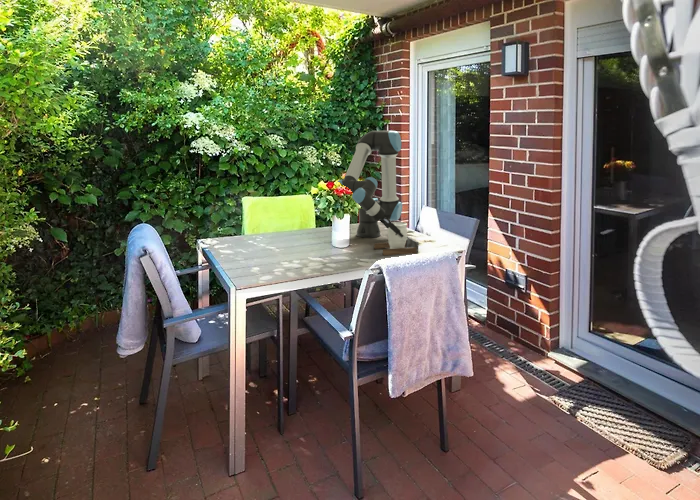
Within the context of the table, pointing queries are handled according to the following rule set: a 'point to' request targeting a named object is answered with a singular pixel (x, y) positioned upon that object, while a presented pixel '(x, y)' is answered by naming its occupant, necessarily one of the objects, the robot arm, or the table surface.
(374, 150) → the robot arm
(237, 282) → the table surface
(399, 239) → the jar
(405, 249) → the channel
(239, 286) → the table surface
